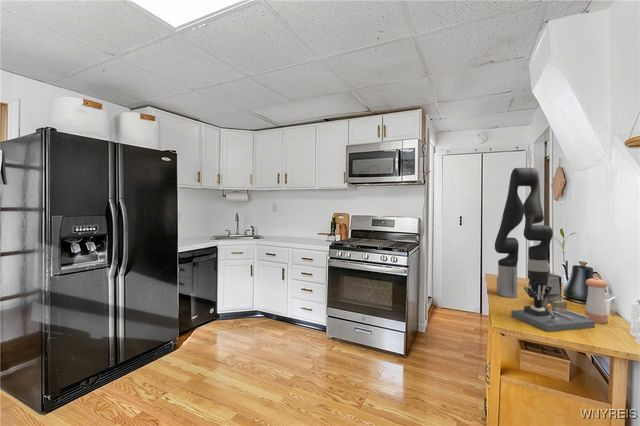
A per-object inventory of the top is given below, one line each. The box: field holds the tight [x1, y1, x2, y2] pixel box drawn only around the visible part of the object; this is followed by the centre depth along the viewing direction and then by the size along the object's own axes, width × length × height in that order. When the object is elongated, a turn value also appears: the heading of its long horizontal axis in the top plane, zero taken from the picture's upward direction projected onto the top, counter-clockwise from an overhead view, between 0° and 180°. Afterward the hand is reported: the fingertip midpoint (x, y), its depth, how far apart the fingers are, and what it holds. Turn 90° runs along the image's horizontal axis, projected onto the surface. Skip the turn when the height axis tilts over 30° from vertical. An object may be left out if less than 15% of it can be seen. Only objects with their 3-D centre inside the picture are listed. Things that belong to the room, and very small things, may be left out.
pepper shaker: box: [584, 276, 609, 324], centre depth 129 cm, size 7×7×19 cm
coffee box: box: [542, 272, 562, 308], centre depth 149 cm, size 9×6×16 cm
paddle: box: [552, 300, 568, 313], centre depth 132 cm, size 2×6×5 cm, turn 100°
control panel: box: [511, 305, 596, 333], centre depth 129 cm, size 18×23×4 cm
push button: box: [530, 305, 546, 311], centre depth 132 cm, size 5×5×2 cm
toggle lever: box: [545, 304, 555, 319], centre depth 122 cm, size 2×2×6 cm
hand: (537, 307), depth 132 cm, fingers closed
